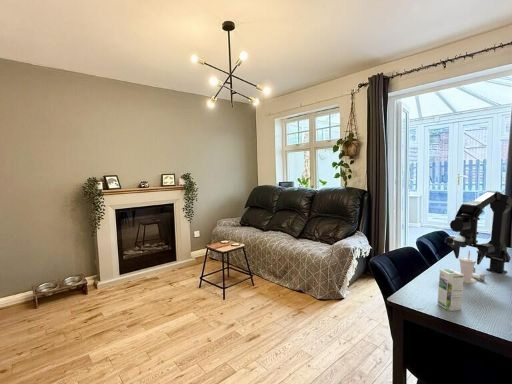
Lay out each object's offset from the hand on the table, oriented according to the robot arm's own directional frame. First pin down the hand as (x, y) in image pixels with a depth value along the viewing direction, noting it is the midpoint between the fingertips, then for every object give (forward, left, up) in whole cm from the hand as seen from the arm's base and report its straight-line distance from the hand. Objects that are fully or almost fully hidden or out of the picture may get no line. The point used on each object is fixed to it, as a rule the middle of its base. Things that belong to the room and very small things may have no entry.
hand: (467, 261), depth 132 cm
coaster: (0, 0, -9) cm, 9 cm away
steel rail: (-8, 0, -9) cm, 12 cm away
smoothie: (0, 0, -9) cm, 9 cm away
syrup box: (+34, +13, -9) cm, 38 cm away
